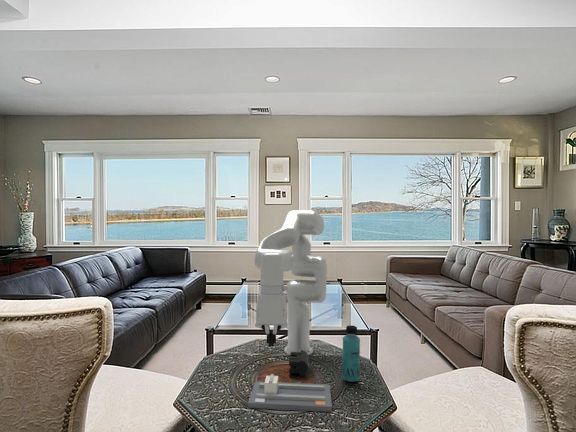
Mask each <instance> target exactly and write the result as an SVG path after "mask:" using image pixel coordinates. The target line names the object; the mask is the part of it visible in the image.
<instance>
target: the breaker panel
mask: <svg viewBox="0 0 576 432" xmlns="http://www.w3.org/2000/svg"><path fill="white" fill-rule="evenodd" d="M264 383H265V381H255V382H254V384H253V388H252V390H251V393H250V396H249V399H248V401H247V408H248V409H269V410H270V409H271V410H287V411H288V410H289V411H291V410H292V411H306V412H307V411H312V412H331V413H332V412H333V403H332V402H333V401H332V396H331V395H332V394H331V386H330V385H331V384H326V383H323V384H322V383H302V382H301V383H300V382H281V381H280V382H279V381H278V391H277V394H264Z"/></svg>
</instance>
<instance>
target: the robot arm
mask: <svg viewBox="0 0 576 432" xmlns="http://www.w3.org/2000/svg"><path fill="white" fill-rule="evenodd" d="M324 230H325V221H324V218H323V216H322V215H321V214H320V213H319V212H318V211H315V210H312V209H293V210H289V211H287V212H286V213H285V215H284V216H283V219H282V222H281V224H280V227H279V228H278V230H276V231H275V232H273V233H271V234H269V235H268V236H266V237H264V238H263V239H262V240H261V242H260V243H259V245H258V247H257V249H256V252H255V256H254V265H255V267H256V268H257V269H258V270H260V280H259V282H260V285H259V287H260V288H259V289H260V292H258V293H257V298H256V299H257V300H256V310H255V325H254V327H255V328H259V329H261V330H263V332H265V334H266V344H267V345H268V347H272V348H273V347H274V345H275V344H277V333H278V332H279V331H280V330H281V329H287V345H286V346H285V347H284V348H283V349H284V350H283V351H284V353H285V354H286V355H288V356H290V353H291V352H301V350H304V351H305V352H307V354H308V356H311V355H312V353H313V352H314V349H313V347H312V346H310V325H311V324H310V322H311V321H310V320H311V319H310V318H311V316H310V315H311V313H310V309H309V307H308V305H307V304H306V303H311V304H313V303H314V304H322V303H324V302H325V300H326V297H327V296H326V295H327V273H328V272H327V271H328V269H327V268H328V267H327V266H328V265H327V260H326V259H325V257H324V256H321V255H311V254H312V252H311V249H312V245H311V242H310V240H309V239H308V238H307V236H308V235H310V236H317V235H319V236H320V235H322V233H324ZM306 235H307V236H306ZM289 247H291V250H289V249H285V248H289ZM290 271H291V274H292V275H293V276H295V277H301V278H302V277H303V278H305V277H306V278H314V279H315V280H313V279H300V278H299V279H298V278H297V279H291V280H289V281H288V282H287V283H286V285H284V272H290ZM285 291H286V292H285ZM270 326H273V329H272V331H271V327H270ZM294 358H296V356H294Z"/></svg>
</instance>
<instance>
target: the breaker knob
mask: <svg viewBox="0 0 576 432" xmlns="http://www.w3.org/2000/svg"><path fill="white" fill-rule="evenodd" d="M264 382H265V383H264V394H277V391H278V382H279V375H275V374H274V373H271V374H270V375H265V380H264Z"/></svg>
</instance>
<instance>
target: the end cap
mask: <svg viewBox="0 0 576 432" xmlns="http://www.w3.org/2000/svg"><path fill="white" fill-rule="evenodd" d="M289 356H290V357H289V360H288V366H289V367H290V368H289V369H288V377H289V378H297V377H300V378H302V377H305V375H306V374H308V371H309V359H310V355H308V354H307V352H305V351H304V350H301V352H291V353H290V355H289ZM295 356H296V357H295Z"/></svg>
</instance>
